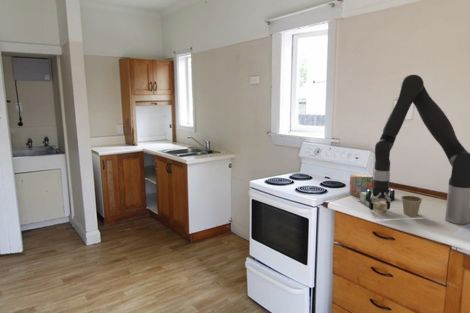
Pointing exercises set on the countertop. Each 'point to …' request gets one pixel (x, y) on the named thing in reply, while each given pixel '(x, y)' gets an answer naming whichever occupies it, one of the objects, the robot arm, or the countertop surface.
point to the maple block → (380, 207)
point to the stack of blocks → (360, 183)
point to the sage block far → (363, 197)
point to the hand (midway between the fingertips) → (379, 209)
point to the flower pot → (411, 205)
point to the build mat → (364, 204)
